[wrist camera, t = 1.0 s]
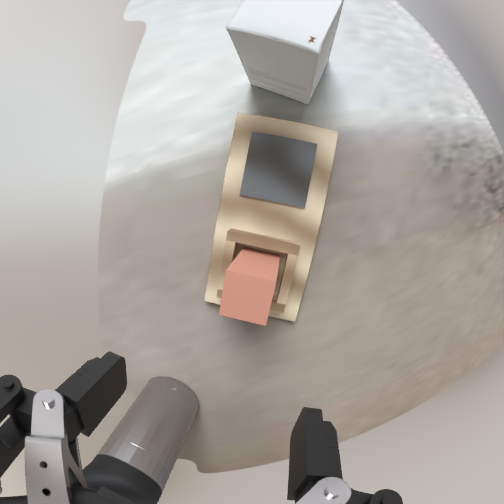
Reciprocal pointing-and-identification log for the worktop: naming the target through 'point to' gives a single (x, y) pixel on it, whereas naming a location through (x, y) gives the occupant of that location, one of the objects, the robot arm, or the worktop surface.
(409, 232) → the worktop surface
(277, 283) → the board
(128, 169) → the worktop surface
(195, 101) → the worktop surface
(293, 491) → the robot arm
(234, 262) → the block
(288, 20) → the supplement box
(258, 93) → the worktop surface
